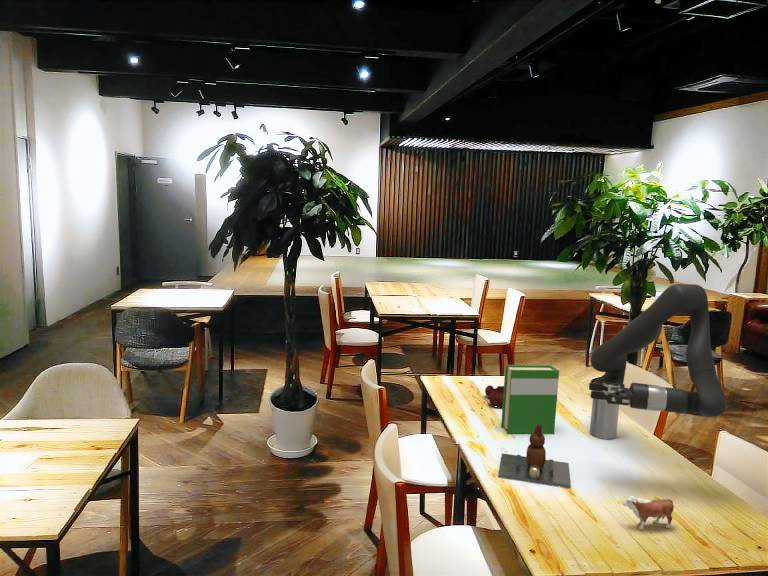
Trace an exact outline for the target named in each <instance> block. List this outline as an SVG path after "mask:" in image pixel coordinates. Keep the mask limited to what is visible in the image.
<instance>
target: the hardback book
mask: <svg viewBox="0 0 768 576" xmlns="http://www.w3.org/2000/svg"><path fill="white" fill-rule="evenodd" d="M504 367H505V368H504V379H503V380H504V381H503V386H504V393H503V407H501V408H502V409H501V410H502V411H501V422H500V423H501V424H500V425H501V426H500V427H501V428H502V429H503V428H504V429H505V430H506V435H531V434H532V433H534V430H535V427H537V426H538V424H539V427H540V425H541V424H542V432H541V434H543V435H555V430H556V429H555V428H556V427H555V425H556V417H557V416H556V413H557V402H558V392H559V391H558V389H559V378H560V370H559V369H558V368H556V367H554V366H553V365H551V364H547V365H546V364H505V366H504Z"/></svg>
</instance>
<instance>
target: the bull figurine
mask: <svg viewBox="0 0 768 576" xmlns="http://www.w3.org/2000/svg"><path fill="white" fill-rule="evenodd" d="M622 505H623V506H624V507H627V508H628V509H630V510H631V511H632V512H633V514H634V515H635V516H636V517H637V519H639V521H638V523H637V525H638V526H639V527H638V530H639V531H643V530H644V529H645V527H644V526H645V524H646V523H647V520H648V518H653V519H654V520H653V521H652V524H655V525H656V524H657V523H659V522H660V519H662V520H664V519H665V518H666V519H667V524H666V525H665V529H671V528H670V527H672V525H671V524H672V521H673V517H672V514H673V512H674V509H675V505H674V501H673V500H672V499H670V498H667V499H662V498H659V499H658V498H657V499H646V498H645V499H643V498H641V497H639V498H636V497H635V495H630V496H628V497H627V498H626V500H625V501H623V502H622Z"/></svg>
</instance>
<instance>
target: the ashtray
mask: <svg viewBox="0 0 768 576" xmlns="http://www.w3.org/2000/svg"><path fill="white" fill-rule="evenodd" d="M484 392H485V393H484V394H485V395H486V396H487V397H488V399H489V400H488V401H489V403H490V404H491V405H492V406H493V407H494V406H497V407H500V408H503V393H504V385H498V386H497V387H495V388H494V386H493V385H488V386H486V387H485V390H484Z"/></svg>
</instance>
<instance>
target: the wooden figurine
mask: <svg viewBox="0 0 768 576" xmlns="http://www.w3.org/2000/svg"><path fill="white" fill-rule="evenodd" d="M541 432H542V424H541V425H540V427H539V424H538V426H537V427H535V430H534V433H532V434H529V435H530V436H529V441H528V442H529V443H530V444H528V446H527V448H526V454H525V455H526V456H525V457H526V460H527V465H528V467H529V468H530V466H531V465H533V464H535V465H537V466H539V468H540V470H541V469H542V468H543V467H544V464H545V460H547V457H546V455H547V453H546V448H545V443H546V438H545V434H541Z"/></svg>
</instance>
